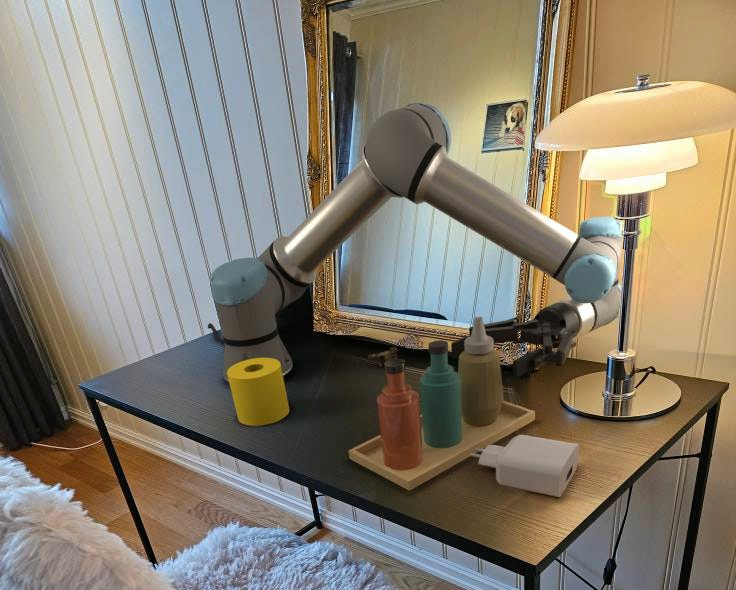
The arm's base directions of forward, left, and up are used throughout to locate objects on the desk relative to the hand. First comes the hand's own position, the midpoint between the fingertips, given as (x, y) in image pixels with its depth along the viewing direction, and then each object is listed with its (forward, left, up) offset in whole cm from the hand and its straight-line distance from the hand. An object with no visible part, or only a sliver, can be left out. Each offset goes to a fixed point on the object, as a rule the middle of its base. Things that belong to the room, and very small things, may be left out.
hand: (482, 359), depth 108 cm
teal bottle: (0, -10, -11) cm, 15 cm away
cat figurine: (-34, +6, -11) cm, 36 cm away
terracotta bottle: (0, -19, -11) cm, 22 cm away
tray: (0, -10, -11) cm, 15 cm away
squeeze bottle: (0, -1, -11) cm, 11 cm away
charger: (+16, -10, -11) cm, 22 cm away
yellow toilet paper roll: (-35, -24, -11) cm, 44 cm away
